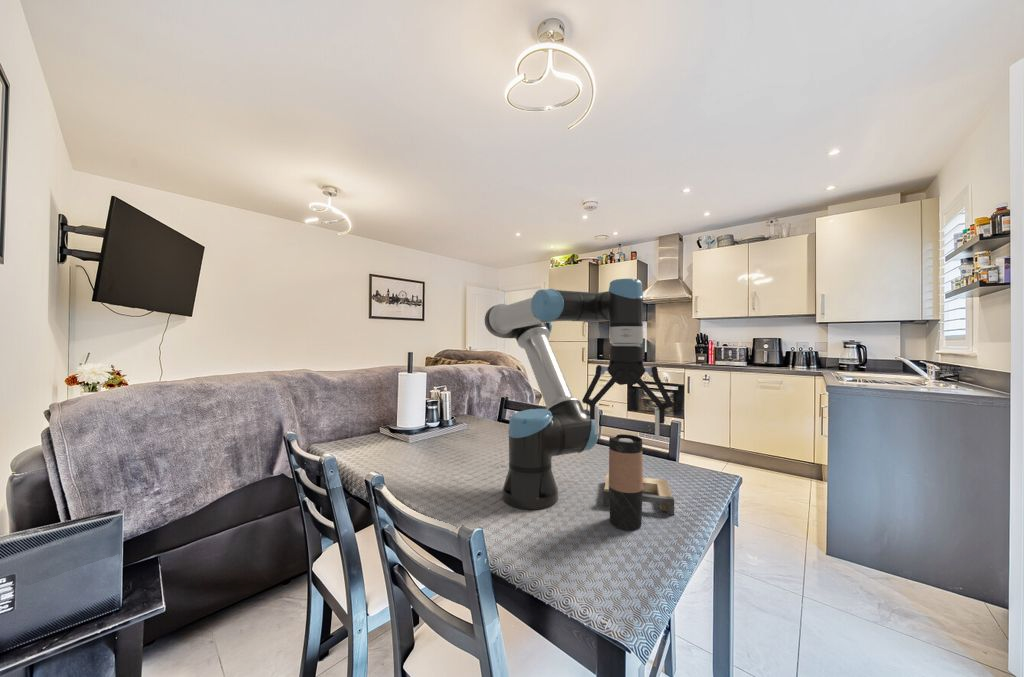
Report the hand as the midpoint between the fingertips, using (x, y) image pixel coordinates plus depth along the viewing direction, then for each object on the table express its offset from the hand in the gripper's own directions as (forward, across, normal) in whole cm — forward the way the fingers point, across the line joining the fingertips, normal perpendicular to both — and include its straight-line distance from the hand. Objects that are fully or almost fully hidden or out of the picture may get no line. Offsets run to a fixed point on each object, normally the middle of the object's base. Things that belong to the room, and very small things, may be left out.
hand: (626, 435), depth 88 cm
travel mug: (+21, 0, 0) cm, 21 cm away
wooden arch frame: (+21, +3, +16) cm, 26 cm away
